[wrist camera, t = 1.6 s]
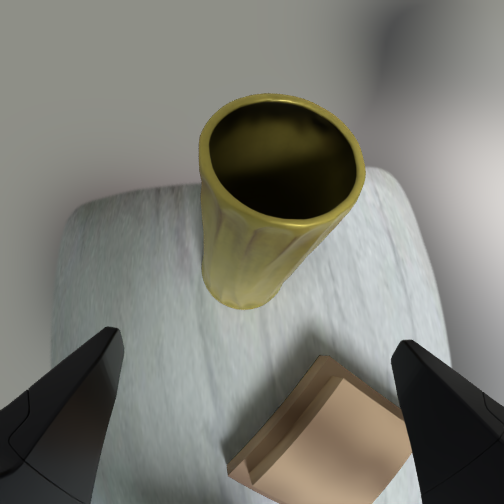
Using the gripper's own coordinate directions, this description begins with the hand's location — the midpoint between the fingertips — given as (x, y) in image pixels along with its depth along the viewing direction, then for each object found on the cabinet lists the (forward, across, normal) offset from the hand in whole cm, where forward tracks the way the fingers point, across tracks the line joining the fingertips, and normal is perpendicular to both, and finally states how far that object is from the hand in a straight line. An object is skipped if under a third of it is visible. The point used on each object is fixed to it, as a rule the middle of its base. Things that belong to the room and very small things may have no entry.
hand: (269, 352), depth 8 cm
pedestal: (+3, -7, +14) cm, 16 cm away
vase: (+13, 0, +5) cm, 14 cm away
